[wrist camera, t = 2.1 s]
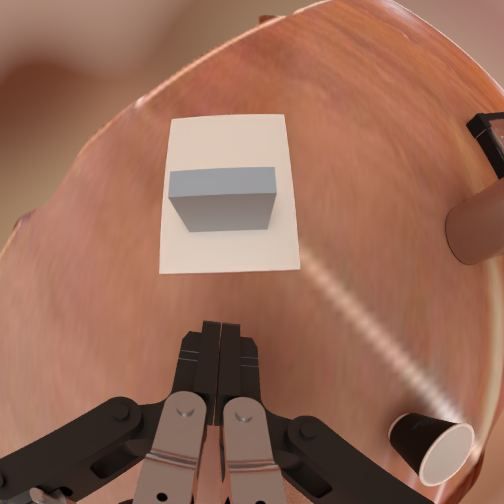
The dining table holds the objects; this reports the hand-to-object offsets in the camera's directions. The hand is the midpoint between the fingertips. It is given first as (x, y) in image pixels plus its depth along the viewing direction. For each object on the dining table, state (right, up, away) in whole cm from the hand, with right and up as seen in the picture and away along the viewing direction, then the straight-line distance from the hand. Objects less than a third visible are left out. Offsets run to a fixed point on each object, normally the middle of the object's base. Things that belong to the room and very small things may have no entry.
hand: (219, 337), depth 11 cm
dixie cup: (+21, -20, +16) cm, 34 cm away
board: (-2, +12, +23) cm, 26 cm away
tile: (-1, +7, +21) cm, 22 cm away
